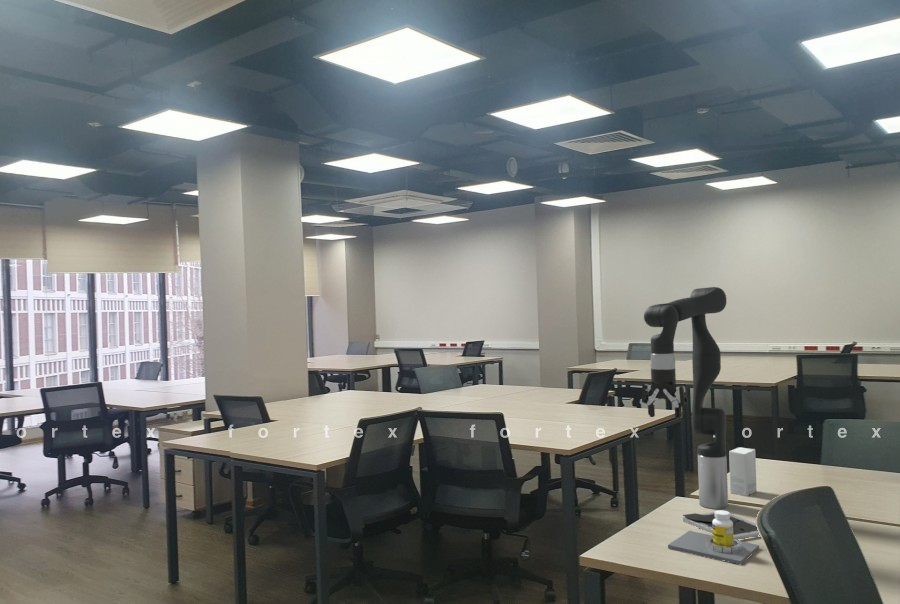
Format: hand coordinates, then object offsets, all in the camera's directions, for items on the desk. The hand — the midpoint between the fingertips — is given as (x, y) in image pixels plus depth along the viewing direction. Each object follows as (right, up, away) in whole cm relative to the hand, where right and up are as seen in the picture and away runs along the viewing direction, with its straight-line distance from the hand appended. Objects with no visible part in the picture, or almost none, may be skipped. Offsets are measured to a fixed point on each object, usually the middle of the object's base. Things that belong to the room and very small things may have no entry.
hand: (664, 417), depth 212 cm
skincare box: (+38, -32, +28) cm, 57 cm away
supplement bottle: (+8, -32, -27) cm, 42 cm away
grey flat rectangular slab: (+6, -33, -25) cm, 41 cm away
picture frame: (+16, -33, -8) cm, 38 cm away
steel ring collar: (+8, -33, -27) cm, 43 cm away
